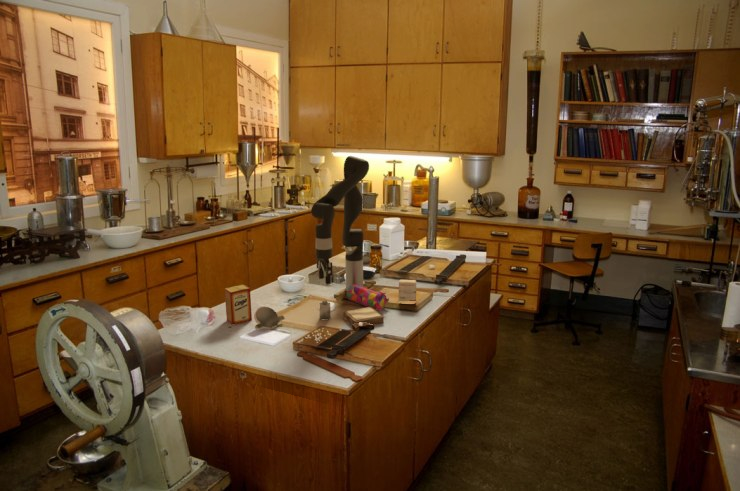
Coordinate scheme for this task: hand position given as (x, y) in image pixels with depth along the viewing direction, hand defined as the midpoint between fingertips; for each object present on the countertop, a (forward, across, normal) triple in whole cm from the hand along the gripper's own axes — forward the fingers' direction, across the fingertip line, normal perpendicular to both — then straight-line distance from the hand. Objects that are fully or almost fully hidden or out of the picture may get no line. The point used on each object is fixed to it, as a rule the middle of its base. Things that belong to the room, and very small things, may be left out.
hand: (324, 281), depth 258 cm
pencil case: (+18, +7, -25) cm, 32 cm away
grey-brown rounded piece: (+18, +2, +27) cm, 33 cm away
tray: (+18, -10, -15) cm, 26 cm away
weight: (+18, 0, 0) cm, 18 cm away
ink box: (+18, +1, -44) cm, 48 cm away
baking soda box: (+18, +14, +37) cm, 44 cm away
